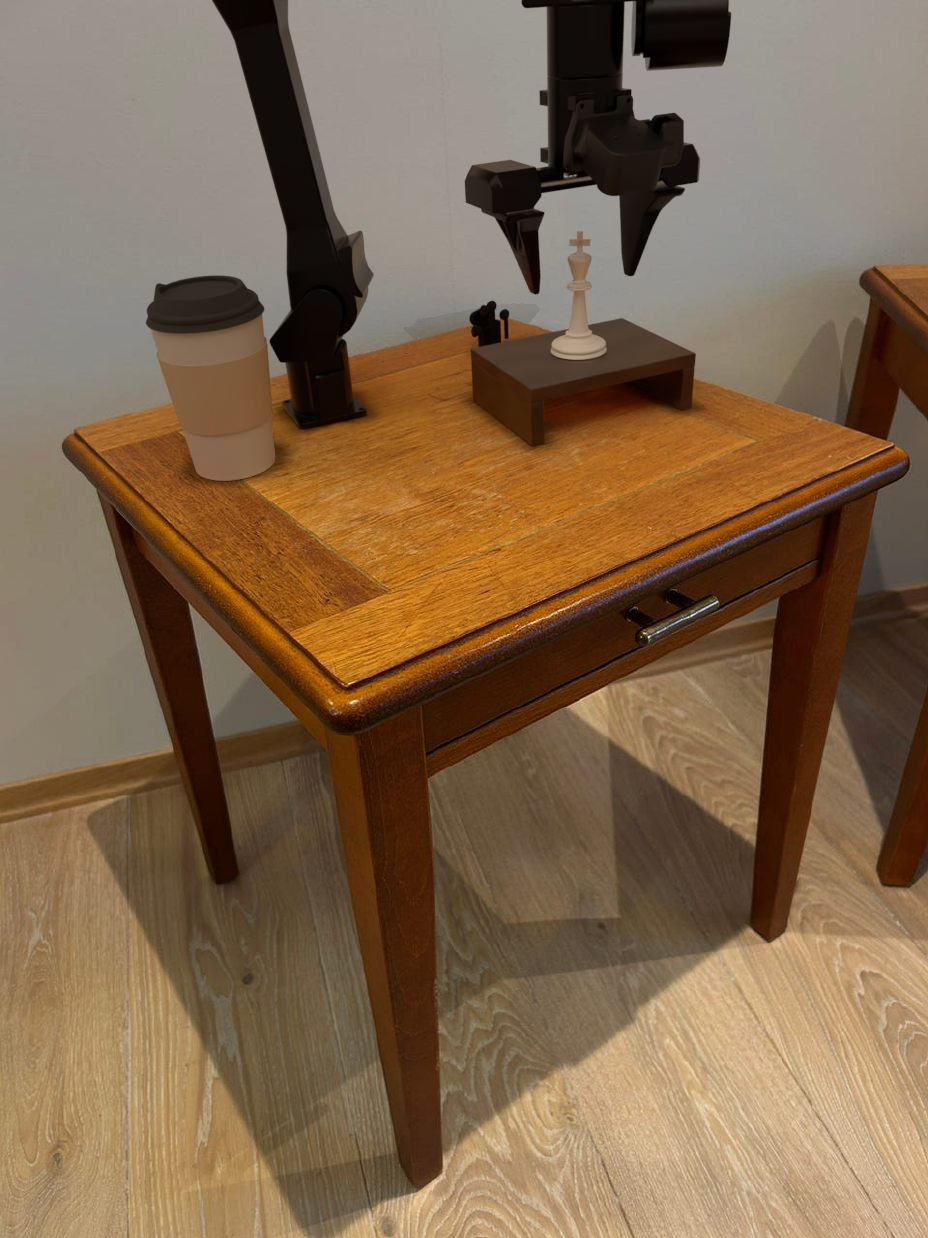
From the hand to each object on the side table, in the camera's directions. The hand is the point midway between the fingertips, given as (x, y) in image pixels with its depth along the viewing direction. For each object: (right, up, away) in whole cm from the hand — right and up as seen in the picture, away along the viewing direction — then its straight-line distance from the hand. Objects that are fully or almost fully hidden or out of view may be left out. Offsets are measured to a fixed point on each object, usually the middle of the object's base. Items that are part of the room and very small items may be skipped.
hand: (582, 284), depth 82 cm
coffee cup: (-29, -15, 0) cm, 33 cm away
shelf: (0, -9, +6) cm, 11 cm away
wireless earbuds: (-8, 0, +20) cm, 21 cm away
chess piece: (0, -5, +3) cm, 6 cm away
